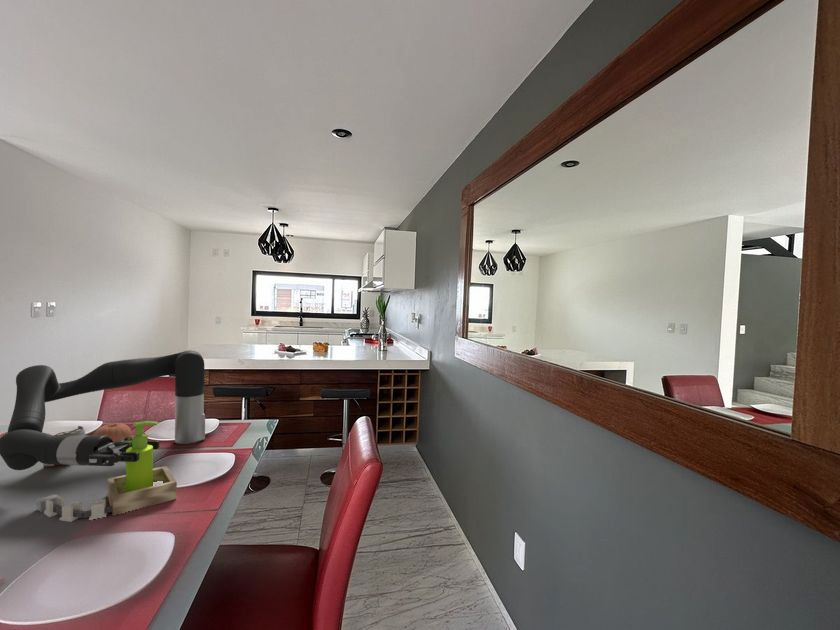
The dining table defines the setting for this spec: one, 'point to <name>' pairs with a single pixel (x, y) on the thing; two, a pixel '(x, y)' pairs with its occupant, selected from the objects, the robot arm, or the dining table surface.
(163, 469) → the open square wooden frame
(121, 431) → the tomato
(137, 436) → the soap dispenser
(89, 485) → the dining table surface
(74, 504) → the cable route
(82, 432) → the food container
